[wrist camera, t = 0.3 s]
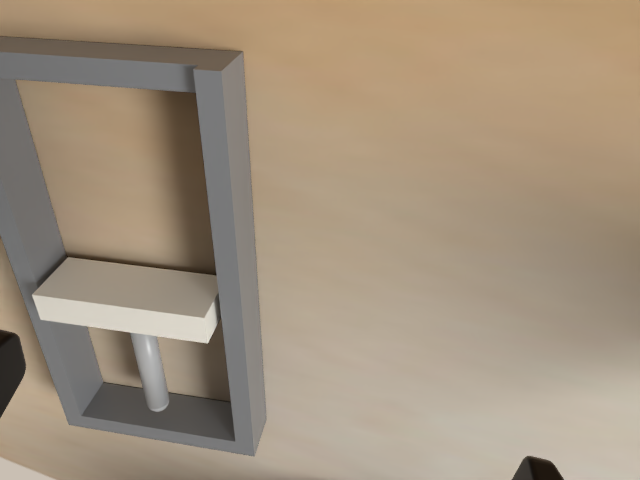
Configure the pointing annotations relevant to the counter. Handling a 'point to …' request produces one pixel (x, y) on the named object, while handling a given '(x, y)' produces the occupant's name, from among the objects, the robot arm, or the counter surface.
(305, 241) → the counter surface
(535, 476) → the robot arm
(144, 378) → the pusher
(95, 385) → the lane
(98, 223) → the counter surface
